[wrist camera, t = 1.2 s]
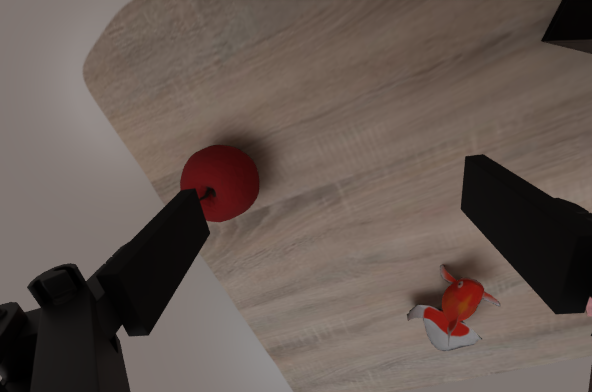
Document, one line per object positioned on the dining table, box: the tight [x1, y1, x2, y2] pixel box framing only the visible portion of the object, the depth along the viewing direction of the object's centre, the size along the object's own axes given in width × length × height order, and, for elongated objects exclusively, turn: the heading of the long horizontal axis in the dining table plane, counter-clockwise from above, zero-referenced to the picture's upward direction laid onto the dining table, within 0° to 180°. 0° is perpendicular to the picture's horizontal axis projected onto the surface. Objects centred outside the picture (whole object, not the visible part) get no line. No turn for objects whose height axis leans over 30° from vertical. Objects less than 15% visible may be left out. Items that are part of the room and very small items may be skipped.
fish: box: [407, 265, 500, 351], centre depth 43 cm, size 11×16×10 cm
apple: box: [180, 145, 259, 222], centre depth 35 cm, size 9×9×10 cm
